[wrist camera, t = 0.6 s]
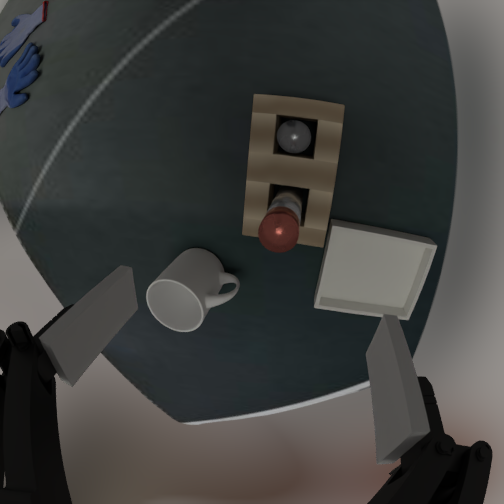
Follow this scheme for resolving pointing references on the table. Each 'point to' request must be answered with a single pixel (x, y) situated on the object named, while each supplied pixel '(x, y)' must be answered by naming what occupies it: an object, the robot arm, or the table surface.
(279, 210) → the glass vial with cap
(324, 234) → the block
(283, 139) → the short pin
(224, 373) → the table surface
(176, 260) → the mug
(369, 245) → the tray
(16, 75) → the pair of gloves
